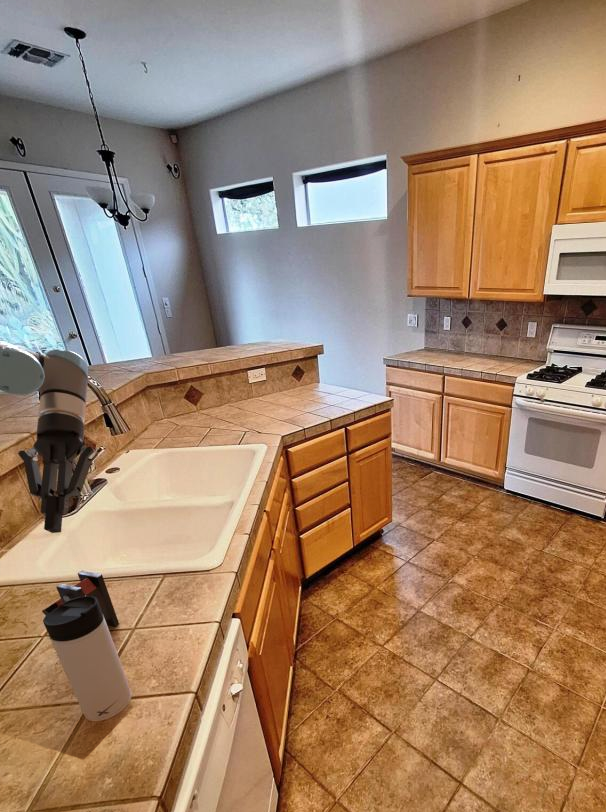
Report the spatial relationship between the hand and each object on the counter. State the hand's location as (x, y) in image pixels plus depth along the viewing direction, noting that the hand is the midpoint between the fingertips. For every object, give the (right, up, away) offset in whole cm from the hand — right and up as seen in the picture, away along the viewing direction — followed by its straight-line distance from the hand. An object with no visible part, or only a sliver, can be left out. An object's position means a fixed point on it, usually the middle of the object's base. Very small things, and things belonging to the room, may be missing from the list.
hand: (52, 530), depth 80 cm
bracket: (+9, -20, -1) cm, 22 cm away
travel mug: (+21, -27, -14) cm, 37 cm away
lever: (+7, -13, -3) cm, 15 cm away
